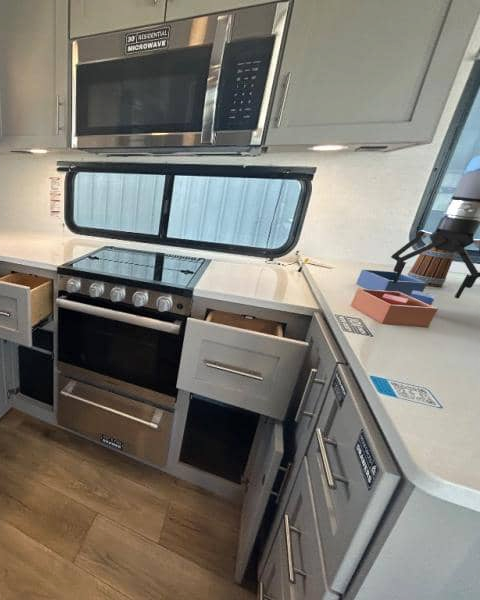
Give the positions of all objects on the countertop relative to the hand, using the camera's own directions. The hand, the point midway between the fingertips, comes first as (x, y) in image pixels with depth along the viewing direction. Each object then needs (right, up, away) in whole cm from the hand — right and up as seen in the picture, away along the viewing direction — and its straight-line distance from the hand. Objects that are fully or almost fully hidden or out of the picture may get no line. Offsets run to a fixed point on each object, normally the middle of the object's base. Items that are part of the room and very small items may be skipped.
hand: (424, 289), depth 98 cm
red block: (-15, -7, -4) cm, 17 cm away
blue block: (0, -6, +2) cm, 6 cm away
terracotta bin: (-15, -8, -4) cm, 17 cm away
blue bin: (+5, 0, +17) cm, 18 cm away
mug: (+33, +4, +32) cm, 46 cm away
